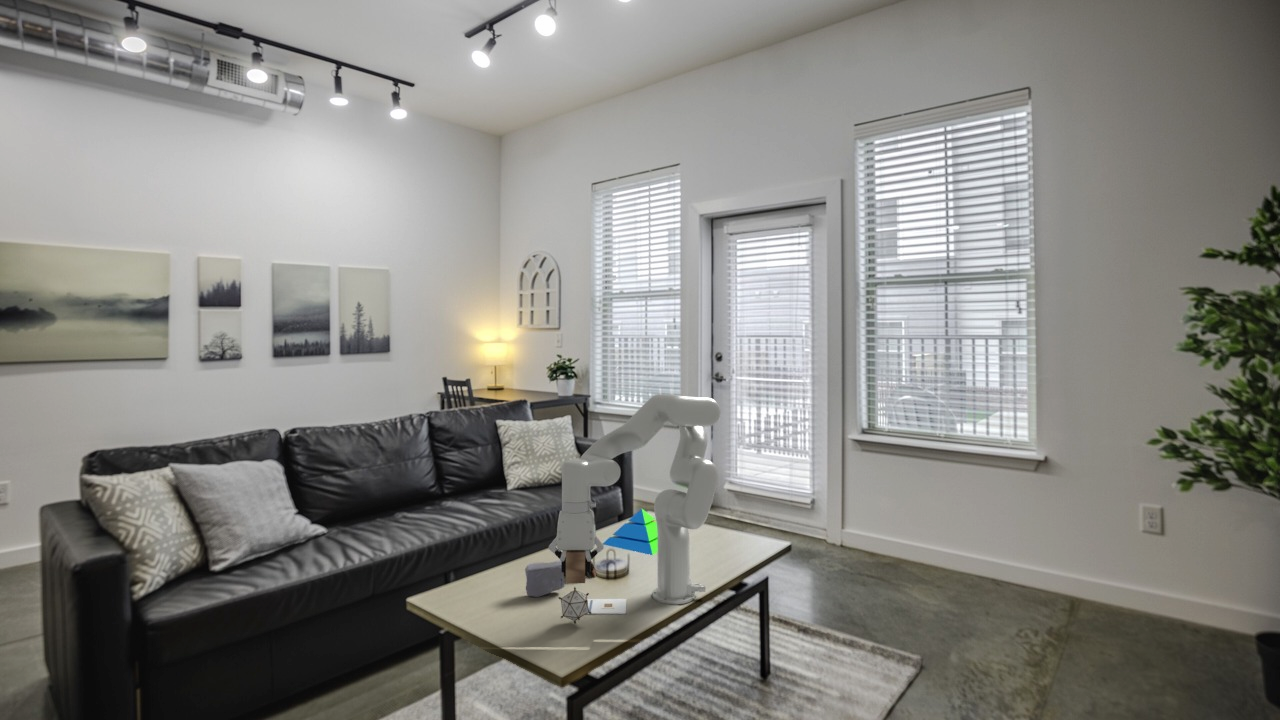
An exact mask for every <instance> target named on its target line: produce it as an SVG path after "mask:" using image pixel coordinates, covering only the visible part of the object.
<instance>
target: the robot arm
mask: <svg viewBox="0 0 1280 720" xmlns="http://www.w3.org/2000/svg"><path fill="white" fill-rule="evenodd" d="M720 417H721V407H720V405H719V403H718V402H717V401H716V400H715V399H714V398H712V397H704V396H693V395H677V394H676V395H675V394H674V395H673V394H665V393H659V394H654V395H652V396H651V397H650V398H649V399H647V400H646V402H645V403H644V404H643V405H642V406H641V407H640V408H639V409H638V410H637V411H636V412H635V413H634V414H633V415H632V416H631V417H629V419H628V420H627V421H626V422H625V423H624V424H622V425H621V426H619V427H618V428H615V429H614V430H612V431H611V432H609V433H607V434H606V435H604V436H602V437H600V438H599V439H598V440H596V441H595V442H594V443H593V444H591V446H589V448H587V450H585V452H584V453H583V454H582V455H581V456H580V458H579V459H576V458H575V459H567V460H565V461H564V462H563V463H562V465H561V466H562V467H561V510H560V511H559V513H558V519H557V527H556V531H557V532H556V537H555V538H554V539H553V540H552V541H551V543H550V544H549V545H548V550H549V551H550V552H552V553H553V554H554V556H556V558H558V559H559V560H560V561H561V562H562V572H564V578H566V551H585V555H586V561H585V576H586V578H587V577H589V573H590V572H591V561H592V560H593V559H594V558H595V557H596V556H597V555H598V554H599V553H600V552H601V551H603V550H604V549H605V547H604V546H605V545H603V543H602V542H601V541H600V540H599V538H598V537H597V536H596V535H597V534H596V533H597V532H596V531H597V530H596V521H595V520H596V519H595V513H594V510H593V509H594V508H596V507H597V503H596V501H594V502H593V501H592V500H591V487H609V486H612V485H615V483H617V482H618V481H619V479H620V477H621V472H622V471H621V466H620V465H619V464H618V462H616V461H615V460H614V458H616V457H617V456H620V455H623V454H624V453H628V452H632V451H637V450H639V449H642V448H644V447H645V446H647V445H648V444H649V443H650V442H651V440H652V439H653V438H654V437H655V436H656V435H657V434H658V432H661V431H660V430H662V429H663V427H664V426H666V425H671V426H678V429H679V434H680V435H679V442H678V445H677V447H676V451H675V454H674V457H673V460H672V463H671V465H670V470H669V479H670V481H671V482H672V483H673V484H674V485H676V486H677V487H680V488H685V489H687V491H686V492H685V491H680V490H677V489H670V488H669V489H664V490H662V491H660V492H659V494H657V496H656V497H655V500H654V505H653V507H654V508H653V509H654V517H655V521H656V523H657V535H658V544H657V548H658V552H657V587H656V588H654V589H653V590H652V598H653V600H655V601H656V602H659V603H661V604H667V605H684V604H687V603H690V602H692V601H693V600H694V599H695V597H696V592H698V593H706V584H701V583H700V582H694V583H693V582H692V581H691V578H690V569H691V568H690V542H691V541H690V532H689V530H697V529H699V528H701V527H702V526H703V525H704V524H705V522H706V521H707V518H708V516H709V513H710V510H711V507H712V503H713V500H714V498H715V493H716V490H717V487H718V484H719V471H718V468H717V466H716V464H715V463H714V462H712V461H711V460H709V459H707V458H705V456H706V451H707V447H708V441H709V439H708V434H707V431H706V430H707V429H706V427H707V428H708V427H713V425H715V424H716V423H717V422H718V421H719V419H720ZM595 546H596V547H595Z"/></svg>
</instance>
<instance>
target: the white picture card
mask: <svg viewBox="0 0 1280 720" xmlns="http://www.w3.org/2000/svg"><path fill="white" fill-rule="evenodd" d="M587 600H588V608H589V612H591V613H592V614H590V613H587V614H586V615H626V614H627V613H626V612H627V598H587Z"/></svg>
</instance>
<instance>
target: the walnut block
mask: <svg viewBox="0 0 1280 720" xmlns="http://www.w3.org/2000/svg"><path fill="white" fill-rule="evenodd" d="M585 561H586V555H585V551H566V577H565V584H586V580H587V577H586V576H585Z"/></svg>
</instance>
